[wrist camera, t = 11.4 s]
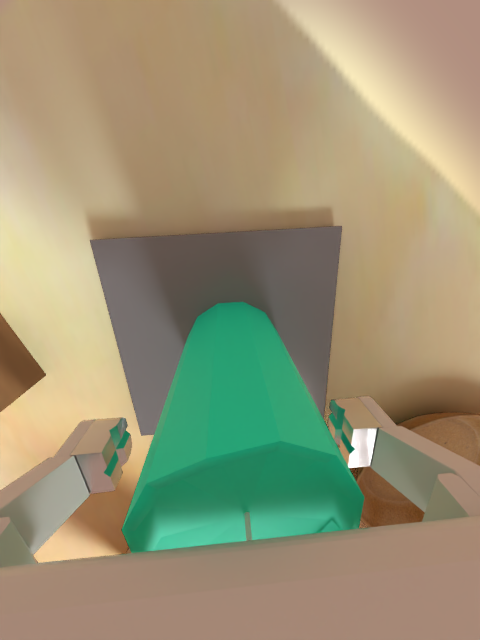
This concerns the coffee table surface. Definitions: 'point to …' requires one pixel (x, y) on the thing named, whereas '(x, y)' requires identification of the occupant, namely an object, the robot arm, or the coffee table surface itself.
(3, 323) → the walnut cube
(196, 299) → the coaster
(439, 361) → the coffee table surface
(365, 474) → the plant saucer
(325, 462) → the candle
